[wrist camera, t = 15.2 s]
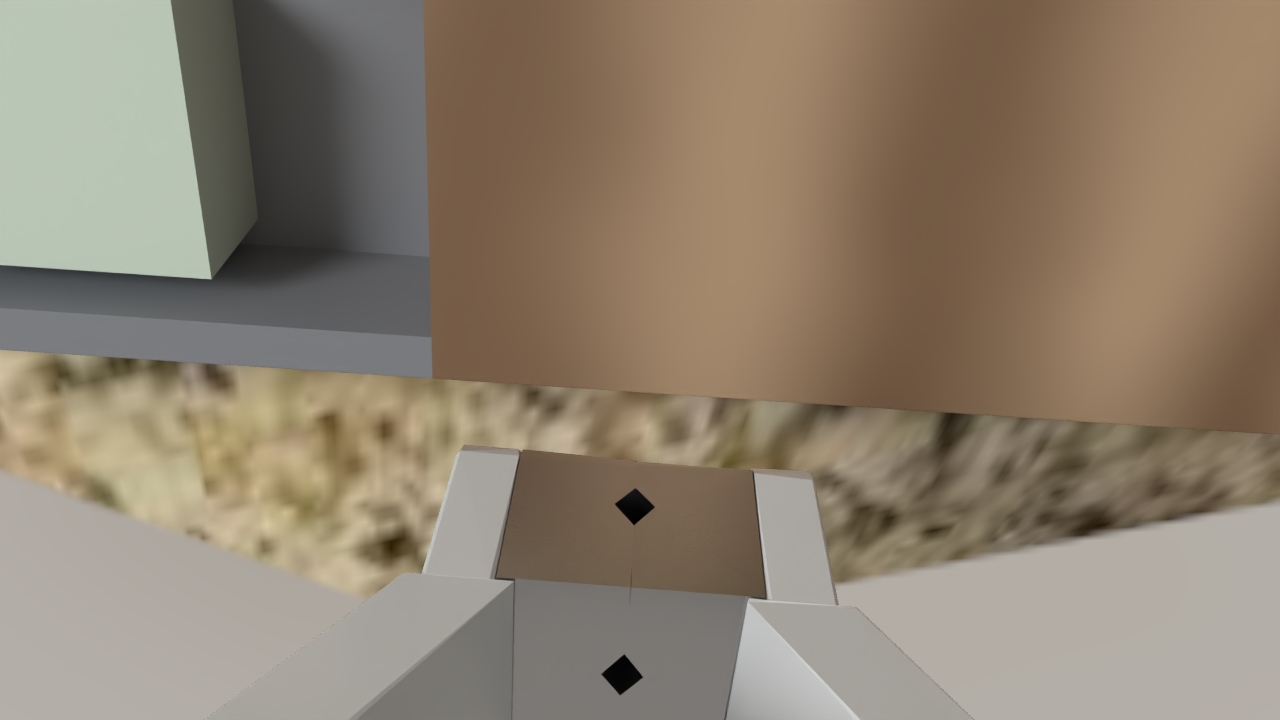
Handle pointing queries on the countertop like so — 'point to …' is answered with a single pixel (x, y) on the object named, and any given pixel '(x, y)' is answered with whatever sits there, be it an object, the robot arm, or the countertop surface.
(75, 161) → the tile sage
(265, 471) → the countertop surface
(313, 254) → the tray
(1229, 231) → the board
